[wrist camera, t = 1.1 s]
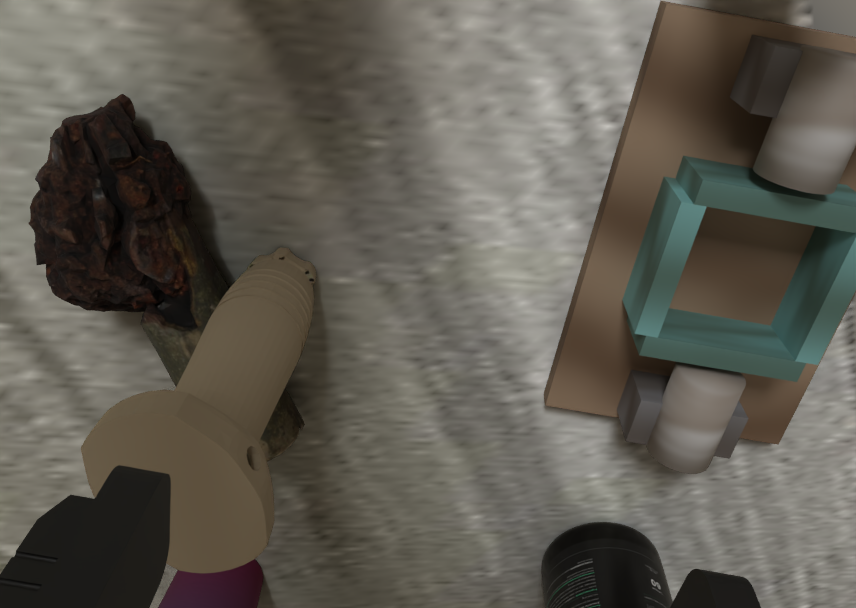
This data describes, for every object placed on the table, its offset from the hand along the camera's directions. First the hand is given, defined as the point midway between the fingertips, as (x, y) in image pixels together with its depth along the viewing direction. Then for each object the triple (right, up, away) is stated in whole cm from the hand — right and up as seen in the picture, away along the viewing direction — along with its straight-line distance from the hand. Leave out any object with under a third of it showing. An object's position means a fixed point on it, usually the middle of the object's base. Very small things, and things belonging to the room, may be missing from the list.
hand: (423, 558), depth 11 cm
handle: (-7, +5, +24) cm, 26 cm away
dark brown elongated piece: (-12, +5, +25) cm, 28 cm away
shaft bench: (+13, +6, +22) cm, 27 cm away
